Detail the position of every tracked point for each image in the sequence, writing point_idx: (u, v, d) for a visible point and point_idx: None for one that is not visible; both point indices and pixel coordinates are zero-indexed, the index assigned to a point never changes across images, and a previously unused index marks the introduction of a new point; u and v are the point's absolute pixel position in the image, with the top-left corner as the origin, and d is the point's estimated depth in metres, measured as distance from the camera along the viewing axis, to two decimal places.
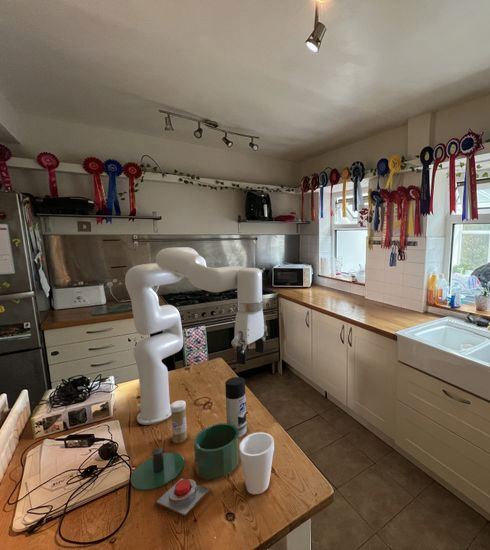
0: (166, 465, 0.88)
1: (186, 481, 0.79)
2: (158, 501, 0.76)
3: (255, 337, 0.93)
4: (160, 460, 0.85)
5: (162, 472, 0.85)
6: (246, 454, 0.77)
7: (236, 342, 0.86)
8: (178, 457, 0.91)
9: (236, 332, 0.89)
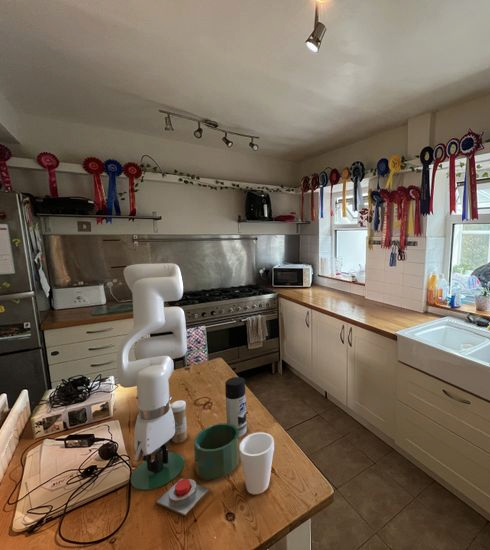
0: (166, 465, 0.88)
1: (186, 481, 0.79)
2: (158, 501, 0.76)
3: (160, 443, 0.84)
4: (160, 460, 0.85)
5: (162, 472, 0.85)
6: (246, 454, 0.77)
7: (139, 459, 0.80)
8: (178, 457, 0.91)
9: (135, 441, 0.81)
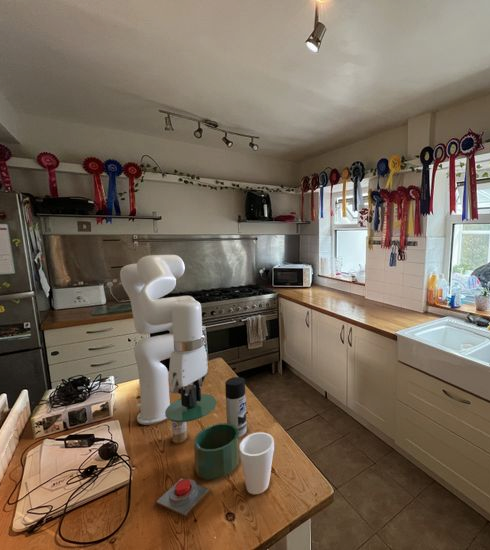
0: (199, 403, 0.88)
1: (186, 481, 0.79)
2: (158, 501, 0.76)
3: (194, 377, 0.84)
4: (194, 396, 0.85)
5: (196, 408, 0.85)
6: (246, 454, 0.77)
7: (174, 390, 0.80)
8: (210, 397, 0.91)
9: (170, 373, 0.80)
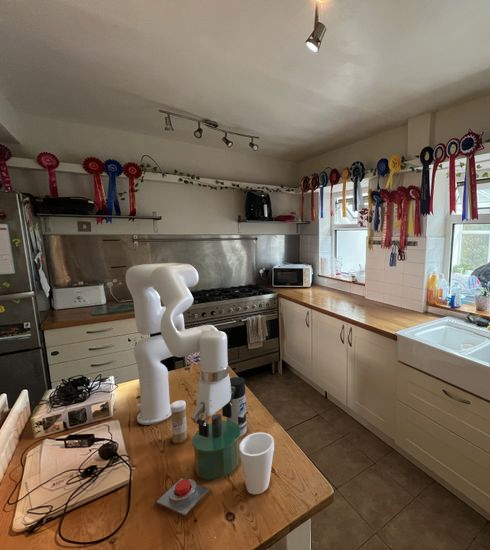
0: (223, 431, 0.90)
1: (186, 481, 0.79)
2: (158, 501, 0.76)
3: (220, 405, 0.86)
4: (219, 425, 0.88)
5: (221, 437, 0.88)
6: (246, 454, 0.77)
7: (196, 417, 0.80)
8: (233, 424, 0.94)
9: (198, 403, 0.83)
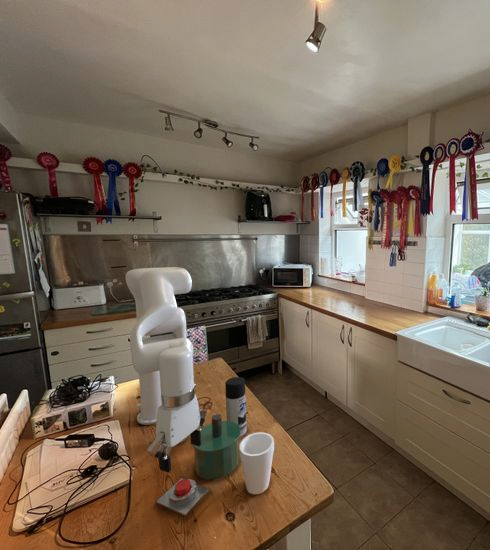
0: (223, 431, 0.90)
1: (186, 481, 0.79)
2: (158, 501, 0.76)
3: (184, 434, 0.74)
4: (219, 425, 0.88)
5: (221, 437, 0.88)
6: (246, 454, 0.77)
7: (153, 450, 0.68)
8: (233, 424, 0.94)
9: (157, 432, 0.71)
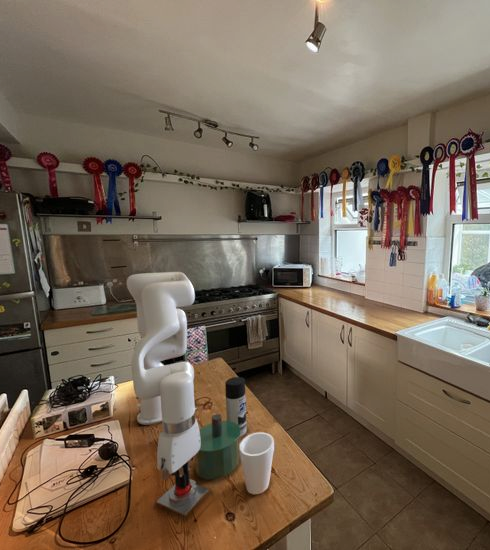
0: (223, 431, 0.90)
1: None
2: (158, 501, 0.76)
3: (185, 459, 0.75)
4: (219, 425, 0.88)
5: (221, 437, 0.88)
6: (246, 454, 0.77)
7: (167, 476, 0.72)
8: (233, 424, 0.94)
9: (159, 458, 0.72)
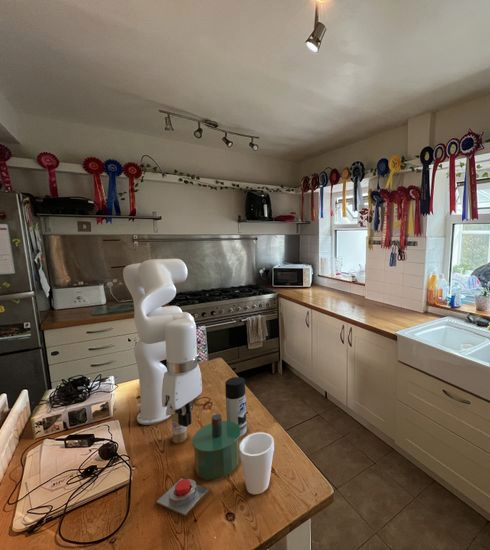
0: (223, 431, 0.90)
1: (186, 481, 0.79)
2: (158, 501, 0.76)
3: (188, 399, 0.81)
4: (219, 425, 0.88)
5: (221, 437, 0.88)
6: (246, 454, 0.77)
7: (171, 412, 0.78)
8: (233, 424, 0.94)
9: (163, 396, 0.77)
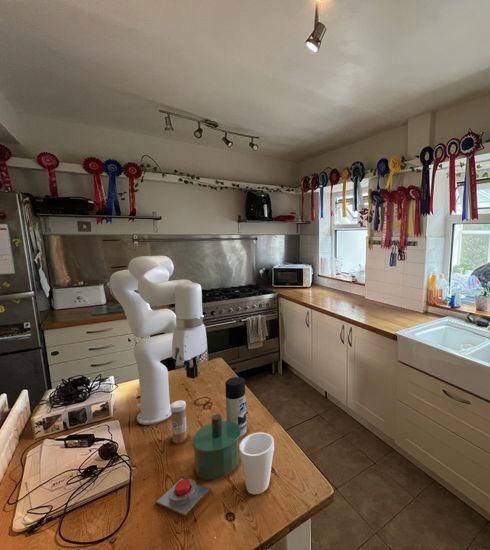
0: (223, 431, 0.90)
1: (186, 481, 0.79)
2: (158, 501, 0.76)
3: (195, 353, 0.91)
4: (219, 425, 0.88)
5: (221, 437, 0.88)
6: (246, 454, 0.77)
7: (180, 363, 0.88)
8: (233, 424, 0.94)
9: (173, 348, 0.88)
